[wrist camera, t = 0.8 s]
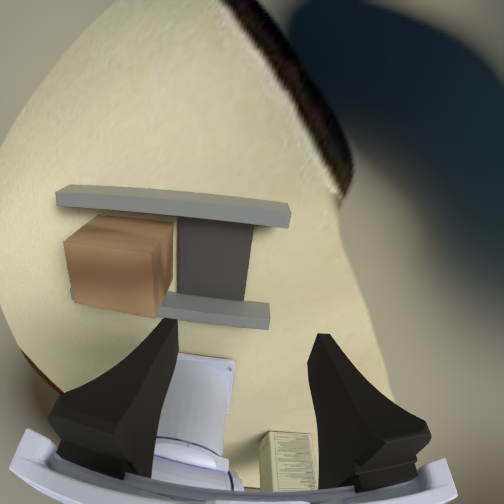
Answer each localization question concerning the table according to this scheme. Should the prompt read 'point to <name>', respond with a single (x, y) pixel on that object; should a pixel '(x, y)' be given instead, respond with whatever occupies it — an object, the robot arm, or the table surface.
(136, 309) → the walnut block
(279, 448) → the skincare box
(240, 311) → the channel
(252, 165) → the table surface
